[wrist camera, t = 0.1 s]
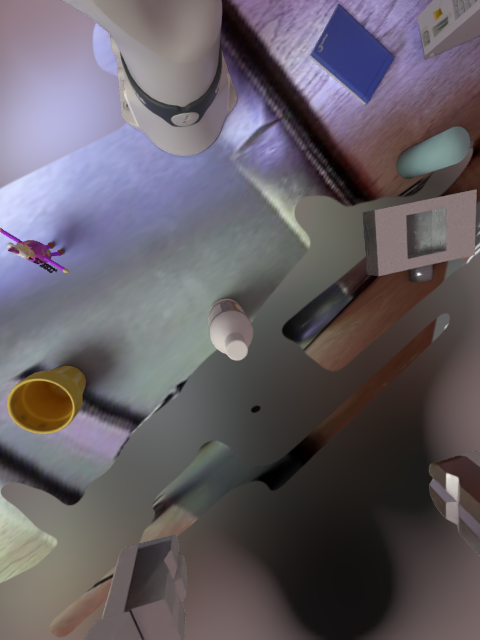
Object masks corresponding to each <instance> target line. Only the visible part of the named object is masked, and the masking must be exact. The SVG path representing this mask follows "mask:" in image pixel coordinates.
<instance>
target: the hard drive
mask: <svg viewBox="0 0 480 640" xmlns="http://www.w3.org/2000/svg"><path fill="white" fill-rule="evenodd" d="M309 58H310V59H312V60H313V61H314V62H315V63H316V64H317V65H319V66H320V67H321V68H322V69H323V70H324V71H326V72H327V73H328V74H329V75H330V76H331V77H333V78H334V79H335V80H336V81H337V82H338V83H340V84H341V85H342V86H343V87H344V88H345V89H347V90H348V91H349V92H350V93H351V94H352V95H354V96H355V97H356V98H357V99H358V100H360V101H361V102H362V103H363V104H364V105H366V104H367V103H368V101H369V100H370V98H371V96H372V95H373V93H374V91H375V90H376V88H377V86H378V85H379V83H380V81H381V79H382V78H383V76H384V74H385V73H386V71H387V69H388V68H389V66H390V64H391V63H392V61H393V59H394V56H393V55H392V54H391V53H390V52H389V51H388V50H387V49H386V48H385V47H384V46H383V45H382V44H381V43H379V42H378V41H377V40H376V39H375V38H374V37H373V36H372V35H371V34H370V33H369V32H368V31H367V30H366V29H365V28H364V27H363V26H362V25H361V24H360V23H359V22H358V21H357V20H355V19H354V18H353V17H352V16H351V15H350V14H349V13H348V12H347V11H346V10H345V9H344V8H343V7H342V6H341V5H340V4H338V6H337V7H336V9H335V11H334V13H333V15H332V16H331V18H330V20H329V22H328V24H327V26H326V27H325V29H324V31H323V33H322V35H321V37H320V38H319V40H318V42H317V44H316V46H315V48H314V49H313V51H312V53H311V55H310V57H309Z"/></svg>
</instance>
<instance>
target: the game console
mask: <svg viewBox="0 0 480 640" xmlns="http://www.w3.org/2000/svg"><path fill="white" fill-rule="evenodd" d="M417 19H418V24H419V29H420V34H421V39H422V44H423V50H424V56H425V60H427V59H429V58H431V57H433V56H435V55H438V54H440V53H442V52H444V51H446V50H449V49H451V48H453V47H455V46H458V45H460V44H462V43H464V42H466V41H469V40H471V39H473V38H475V37H477V36H480V0H432V2H431V3H430V4H429V5H428V6H427V7H426V8H425V9H424V10H423V11H422V12H421V13H420V14H419V16H418V17H417Z"/></svg>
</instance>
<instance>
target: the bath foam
mask: <svg viewBox="0 0 480 640" xmlns="http://www.w3.org/2000/svg"><path fill="white" fill-rule="evenodd" d="M209 333H210V339H211V341H212V343H213V344H214V346H215V347H216V348H217V349H218V350H219V351H221V352H223V353H225V354H227V355H228V357H229V358H231V359H232V360H241V359H243V358H244V357H245V356H246V355H247V353H248V346H249V345H250V343H251V341H252V337H253V328H252V324H251V322H250V320H249V318H248V317H247V315H246V314H245V312H244V310H243V309H242V307H241V306H240V305H239V304H238V303H237V302H236V301H234V300H232V299H221V300H218V301H217V302H215V303H214V304H213V305H212V306H211V308H210V310H209Z"/></svg>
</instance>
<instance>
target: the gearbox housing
mask: <svg viewBox="0 0 480 640" xmlns="http://www.w3.org/2000/svg"><path fill="white" fill-rule="evenodd" d="M476 195H477V189H476V190H471V191H466V192H461V193H457V194H452V195H447V196H442V197H437V198H432V199H428V200H422V201H417V202H413V203H408V204H403V205H398V206H393V207H388V208H383V209H378V210H374V211H368V212H364V213H363V225H364V239H365V252H366V267H367V274H370V275H376V276H381V275H386V274H390V273H395V272H399V271H404V270H408V269H409V281H411V282H423V281H429V280H432V279H433V264H435V263H440V262H444V261H449V260H453V259H458V258H463V257H467V256H472V255H475V226H476Z"/></svg>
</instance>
